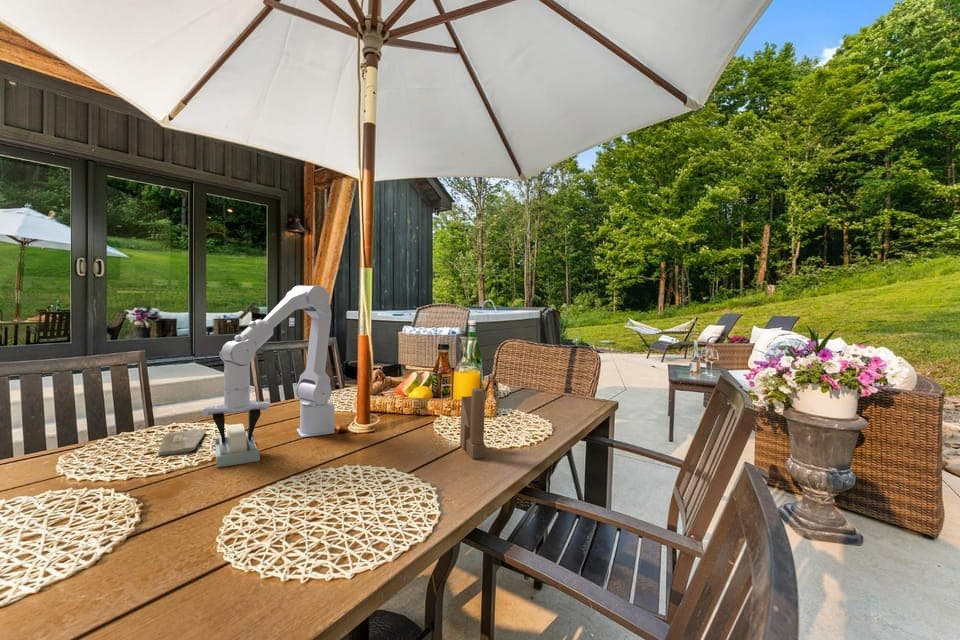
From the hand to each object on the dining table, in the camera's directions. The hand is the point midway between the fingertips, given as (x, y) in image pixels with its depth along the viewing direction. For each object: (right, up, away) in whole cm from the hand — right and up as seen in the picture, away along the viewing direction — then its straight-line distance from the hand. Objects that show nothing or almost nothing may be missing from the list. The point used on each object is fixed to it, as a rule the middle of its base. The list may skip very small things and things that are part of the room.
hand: (236, 440), depth 110 cm
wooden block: (+60, -5, +7) cm, 61 cm away
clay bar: (0, -2, 0) cm, 2 cm away
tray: (0, -3, 0) cm, 3 cm away
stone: (-18, -3, +6) cm, 19 cm away
